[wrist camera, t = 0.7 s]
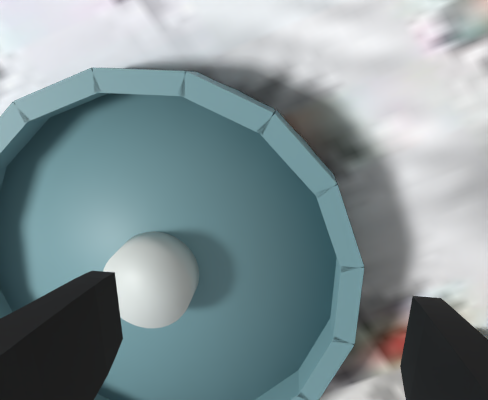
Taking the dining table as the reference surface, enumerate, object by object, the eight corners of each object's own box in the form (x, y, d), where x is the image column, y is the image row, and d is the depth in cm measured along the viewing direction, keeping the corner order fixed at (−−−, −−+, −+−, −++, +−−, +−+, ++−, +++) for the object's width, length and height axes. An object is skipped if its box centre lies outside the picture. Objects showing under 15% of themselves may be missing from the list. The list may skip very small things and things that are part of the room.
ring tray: (252, 470, 26) (248, 508, 24) (-50, 331, 26) (-84, 356, 23) (432, 182, 20) (450, 197, 18) (39, -5, 20) (5, -15, 17)
